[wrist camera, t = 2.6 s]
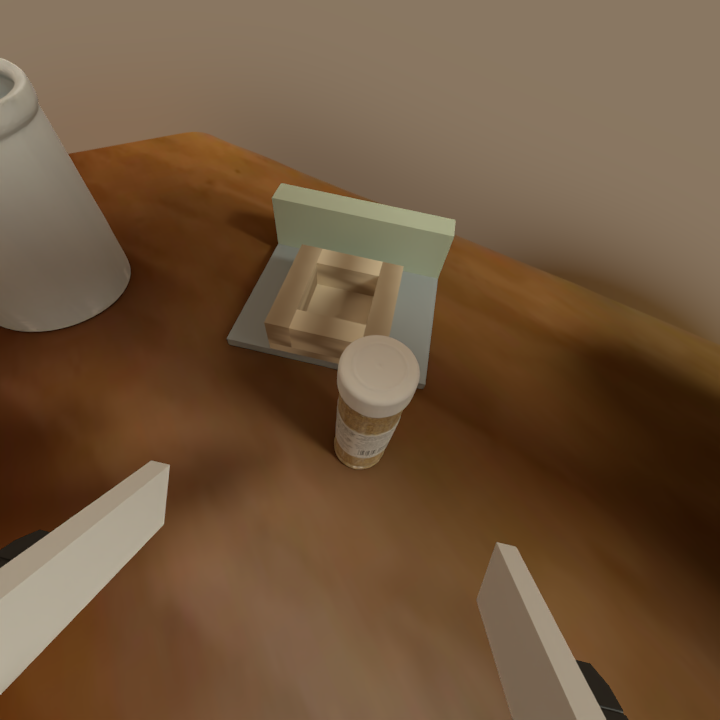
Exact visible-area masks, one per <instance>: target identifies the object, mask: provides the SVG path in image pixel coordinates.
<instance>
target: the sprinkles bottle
mask: <svg viewBox="0 0 720 720" xmlns="http://www.w3.org/2000/svg"><path fill="white" fill-rule="evenodd" d="M419 379H420V369H419V364H418V362H417V359H416V357H415V356H414V354H413V353H412V351H411V350H410V349H409V348H408V347H407V346H406V345H404V344H403V343H401V342H400V341H398V340H396V339H394V338H391V337H387V336H382V335H370V336H365V337H362V338H359V339H357V340H355V341H354V342H352V343H351V344H350V345H348V346H347V347H346V349H345V350H344V351H343V353H342V355H341V357H340V360H339V364H338V372H337V386H338V390H339V397H338V404H337V418H336V431H335V432H336V435H335V438H334V449H335V453H336V455H337V457H338V458H339V460H340V461H341V462H342V463H343V464H345V465H346V466H348V467H351V468H353V469H365V468H370V467H372V466H373V465H375V464H376V463H377V462H378V461H379V460H380V458H381V457H382V456H383V453H384V450H385V448H386V446H387V444H388V443H389V441H390V439H391V437H392V435H393V433H394V431H395V429H396V426H397V424H398V422H399V420H400V418H401V413H402V411H403V409H404V408H405V407H406V406H407V405H408V404H409V403H410V401H411V399H412V397H413V395H414V393H415V391H416V388H417V386H418V383H419Z"/></svg>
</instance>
